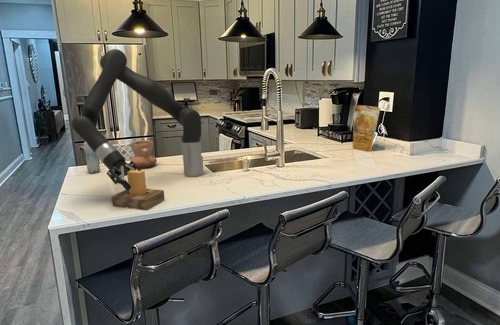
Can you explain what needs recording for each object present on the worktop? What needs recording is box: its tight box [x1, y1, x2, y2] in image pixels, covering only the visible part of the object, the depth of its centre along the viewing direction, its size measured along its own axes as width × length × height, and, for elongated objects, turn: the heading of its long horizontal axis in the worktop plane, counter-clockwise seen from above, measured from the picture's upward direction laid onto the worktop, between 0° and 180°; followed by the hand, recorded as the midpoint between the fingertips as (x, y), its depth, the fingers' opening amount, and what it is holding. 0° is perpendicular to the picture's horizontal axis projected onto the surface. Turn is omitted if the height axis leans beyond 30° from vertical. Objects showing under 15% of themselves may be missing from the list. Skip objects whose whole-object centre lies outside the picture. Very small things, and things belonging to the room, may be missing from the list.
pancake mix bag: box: [352, 104, 381, 152], centre depth 224 cm, size 7×19×28 cm, turn 30°
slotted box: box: [111, 188, 166, 211], centre depth 140 cm, size 16×12×4 cm
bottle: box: [83, 141, 101, 174], centre depth 186 cm, size 7×7×20 cm
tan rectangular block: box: [127, 169, 147, 196], centre depth 139 cm, size 6×3×13 cm, turn 70°
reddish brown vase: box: [129, 139, 157, 169], centre depth 198 cm, size 18×14×14 cm
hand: (136, 185), depth 139 cm, fingers open, 8 cm apart
